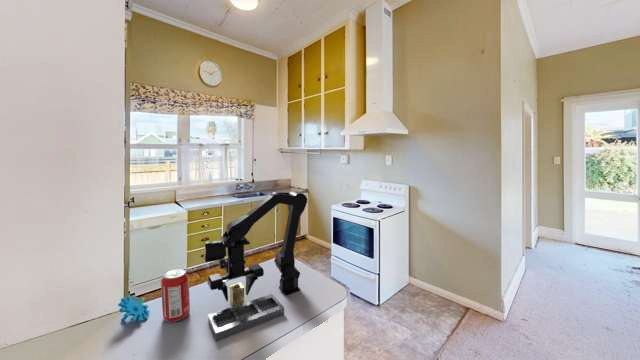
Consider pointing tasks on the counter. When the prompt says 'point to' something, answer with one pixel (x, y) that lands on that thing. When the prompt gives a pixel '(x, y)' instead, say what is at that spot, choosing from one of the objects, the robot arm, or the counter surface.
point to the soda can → (175, 295)
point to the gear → (133, 308)
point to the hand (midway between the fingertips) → (237, 297)
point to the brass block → (236, 294)
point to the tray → (248, 321)
